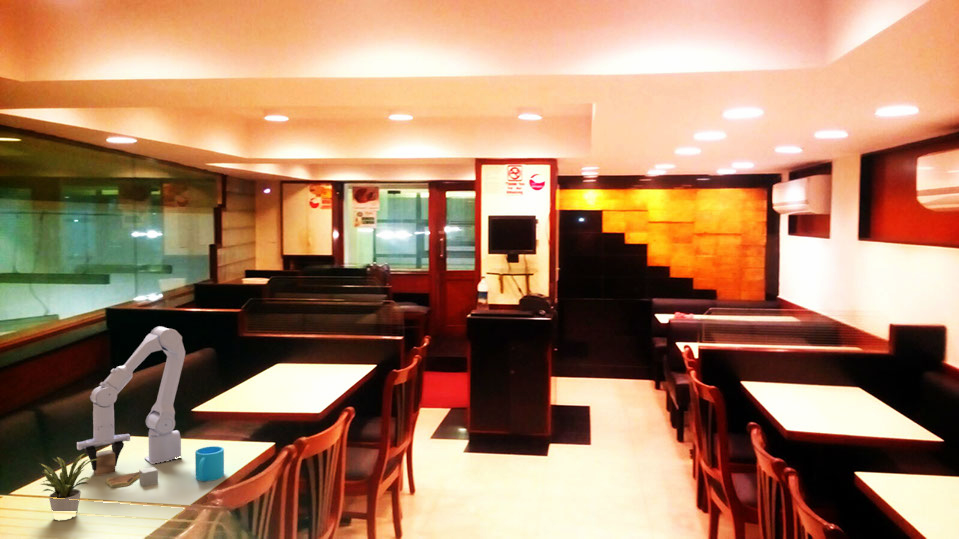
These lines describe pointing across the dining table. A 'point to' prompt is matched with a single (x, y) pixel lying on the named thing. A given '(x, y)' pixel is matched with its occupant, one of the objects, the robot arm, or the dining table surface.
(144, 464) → the dining table surface
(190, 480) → the dining table surface
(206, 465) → the mug
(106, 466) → the walnut block
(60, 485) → the house plant
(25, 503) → the dining table surface
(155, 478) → the light-grey block
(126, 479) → the shard
